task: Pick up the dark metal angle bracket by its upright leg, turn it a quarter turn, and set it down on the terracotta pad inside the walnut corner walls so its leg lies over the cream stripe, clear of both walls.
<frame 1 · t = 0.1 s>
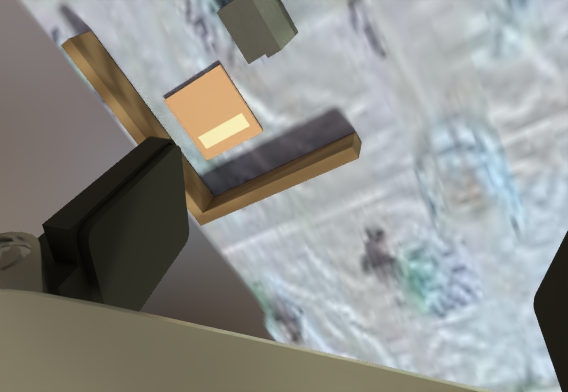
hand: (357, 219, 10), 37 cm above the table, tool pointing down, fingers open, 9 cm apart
bracket: (259, 21, 45), on the table
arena: (223, 89, 50), on the table
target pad: (213, 115, 52), on the table
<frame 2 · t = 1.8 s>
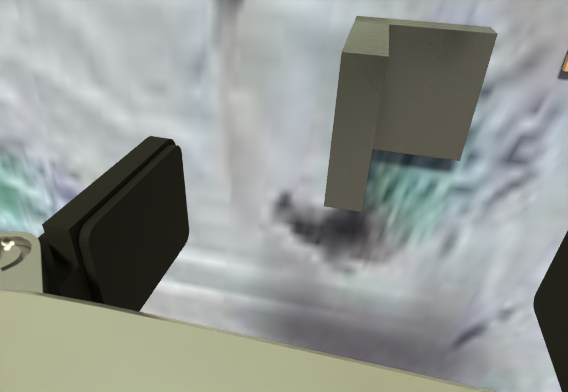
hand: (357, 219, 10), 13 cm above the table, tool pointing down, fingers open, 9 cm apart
bracket: (409, 85, 21), on the table
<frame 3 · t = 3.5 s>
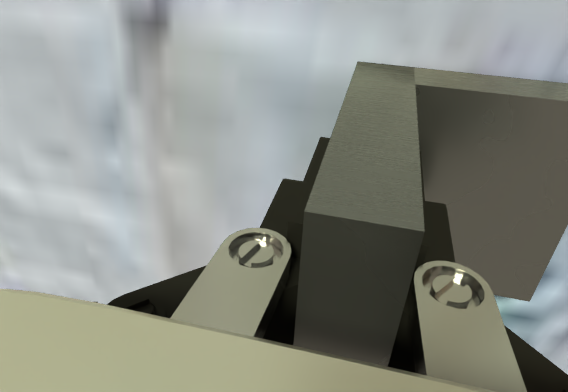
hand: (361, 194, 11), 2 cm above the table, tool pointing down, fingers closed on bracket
bracket: (445, 173, 13), on the table, touching gripper
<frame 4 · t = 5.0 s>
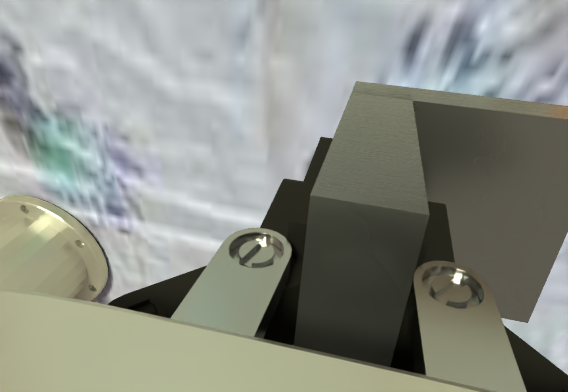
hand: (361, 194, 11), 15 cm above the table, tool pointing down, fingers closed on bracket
bracket: (440, 192, 13), point 14 cm above the table, tilted 6°, touching gripper
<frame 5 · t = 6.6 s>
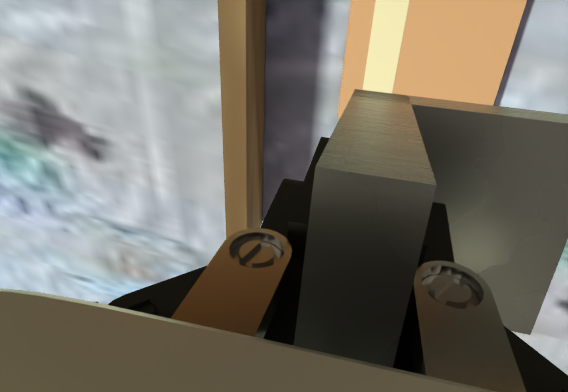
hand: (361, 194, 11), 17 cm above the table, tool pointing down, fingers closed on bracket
bracket: (439, 201, 13), point 15 cm above the table, tilted 10°, touching gripper
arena: (446, 106, 26), on the table
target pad: (423, 53, 25), on the table
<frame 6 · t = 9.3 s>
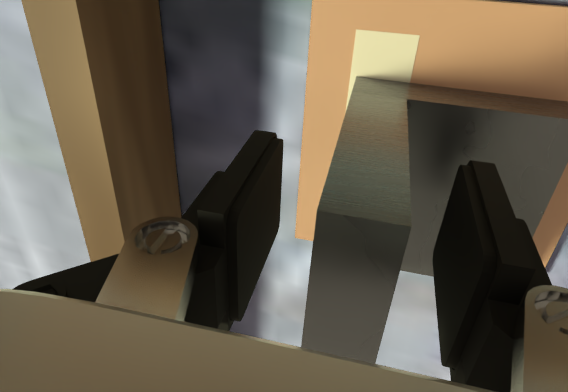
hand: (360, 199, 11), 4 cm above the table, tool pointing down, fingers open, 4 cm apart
bracket: (433, 176, 14), resting on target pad
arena: (476, 231, 15), on the table
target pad: (438, 148, 14), on the table
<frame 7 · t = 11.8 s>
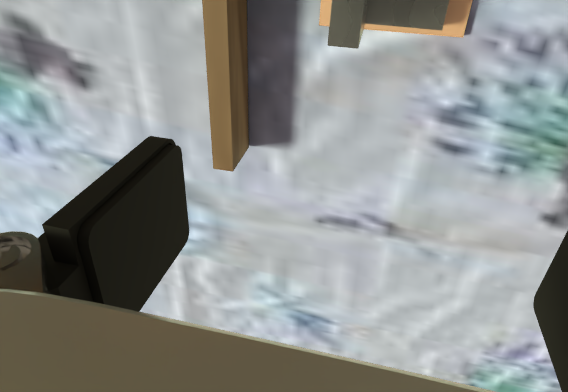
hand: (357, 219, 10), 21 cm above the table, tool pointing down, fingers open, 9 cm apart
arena: (426, 7, 26), on the table
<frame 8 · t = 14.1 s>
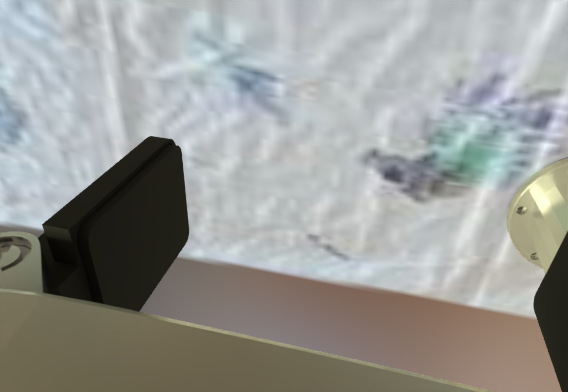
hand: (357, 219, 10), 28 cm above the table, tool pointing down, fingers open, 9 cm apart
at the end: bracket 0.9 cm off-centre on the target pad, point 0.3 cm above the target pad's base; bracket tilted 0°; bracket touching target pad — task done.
